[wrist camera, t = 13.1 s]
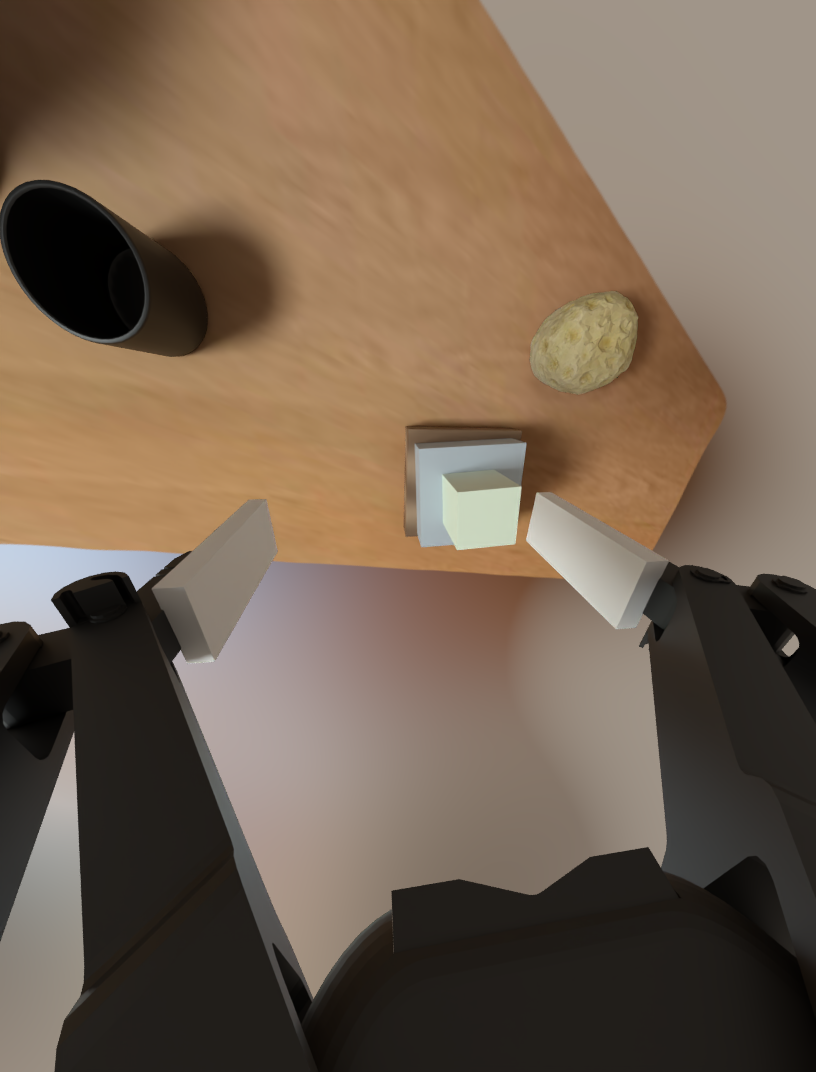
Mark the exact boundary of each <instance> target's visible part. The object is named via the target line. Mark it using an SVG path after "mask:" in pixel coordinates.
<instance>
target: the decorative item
mask: <svg viewBox="0 0 816 1072" xmlns="http://www.w3.org/2000/svg"><path fill="white" fill-rule="evenodd" d="M637 319H638V317H637V313H636V311H635V309H634V307H633V305H632V304H631V302H630V301H629V300H628V298H627V297H624V296H623V295H621V294H620V293H618V292H617V291H610V292H604V293H593V294H589V295H586V296H583V297H580V298H579V299H576V300H575V301H571V302H569V303H567V304H565V305H564V306H563V307H561V308H559V309H557V310H556V311H555V312H554V313H552V314H551V315H550V316H548V317H547V318H546V320H545V321H544V322H543V323H542V325H541V327H540V328H539V330H538V331H537V333H536V335H535V336H534V338H533V340H532V343H531V353H530V364H531V368H532V371H533V373H534V375H535V376H536V377H537V378H538V379H539V380H540V381H542V382H543V383H544V384H547V385H549V386H550V387H552V388H554V389H557V390H558V391H561V392H568V393H572V394H577V395H578V394H582V393H586V392H589V391H593V390H594V389H596V388H600V387H602V386H604V385H606V384H609V383H611V382H612V381H613V380H614V379H615V378H618V377H617V376H619V375H620V374H621V373H622V372H624V371H626V370H627V368H628V367H629V365H630V363H631V361H632V356H633V352H634V349H635V344H636V340H637V329H638V322H637Z"/></svg>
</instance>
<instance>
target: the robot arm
mask: <svg viewBox="0 0 816 1072" xmlns="http://www.w3.org/2000/svg"><path fill="white" fill-rule="evenodd" d="M526 541H527V542H528V543H529V544H530V545H531V546H532V547H533V548H534V549H535V550H536V551H537V552H538V553H539V554H540V555H541V556H542V557H543V558H544V559H545V560H546V561H547V562H548V563H549V564H550V565H551V566H552V567H553V568H554V569H555V570H556V571H557V572H558V573H559V574H560V575H561V576H563V577H564V578H565V579H566V580H567V581H568V582H569V583H570V584H571V585H572V586H573V587H574V588H575V589H576V590H577V591H578V592H579V593H580V594H581V595H582V596H583V597H584V598H585V599H586V600H587V601H588V602H589V603H590V604H591V605H592V606H593V607H594V608H595V609H596V610H597V611H598V612H599V613H600V614H601V615H602V616H603V617H604V618H605V619H606V620H607V621H608V622H609V623H610V624H611V625H612V626H613V627H614V628H615V629H626V628H636V627H637V625H638V623H639V620H640V619H641V617H642V615H643V614H644V615H646V616H647V617H648V618H649V619H651V620H652V621H651V623H650V625H649V627H648V629H647V631H646V633H645V635H644V637H643V639H642V641H641V643H640V645H639V647H642V648H643V647H644V645H645V644H648V643H649V652H650V662H651V672H652V684H653V694H654V705H655V714H656V726H657V736H658V747H659V756H660V757H659V758H660V768H661V779H662V788H663V800H664V810H665V821H666V831H667V846H666V852H665V856H664V859H663V863H662V866H661V867H660V866H659V864H658V863H657V861H656V859H655V857H654V856H653V854H652V853H651V851H650V849H649V848H648V847H647V848H640V849H635V850H629V851H623V852H617V853H611V854H606V855H599V856H593V857H589V858H588V859H587V860H585V861H584V862H583V863H581V864H580V865H579V866H577V867H576V868H574V869H573V870H572V871H570V872H569V873H567V874H566V875H565V876H563V877H562V878H561V879H559V880H558V881H556V882H555V883H553V884H552V885H551V886H549V887H548V888H547V889H545V890H544V891H542V892H541V893H539V894H537V895H527V894H522V893H518V892H513V891H509V890H504V889H500V888H496V887H491V886H487V885H482V884H478V883H473V882H469V881H465V880H460V879H458V880H452V881H446V882H440V883H435V884H429V885H423V886H417V887H411V888H405V889H399V890H393V891H392V910H390V911H388V912H387V913H385V914H384V915H382V916H381V917H379V918H378V919H376V920H375V921H374V922H373V923H372V924H371V925H369V926H368V927H367V928H366V929H365V930H364V931H363V932H361V933H360V934H359V935H358V936H357V938H356V939H355V940H354V941H353V942H352V943H351V944H350V946H349V947H348V948H347V949H346V950H345V951H344V953H343V954H342V955H341V957H340V958H339V959H338V961H337V962H336V964H335V965H334V967H333V968H332V969H331V971H330V972H329V974H328V975H327V977H326V978H325V980H324V982H323V984H322V985H321V987H320V989H319V991H318V992H317V994H316V996H315V998H314V999H313V997H312V994H311V992H310V990H309V987H308V985H307V982H306V980H305V977H304V975H303V973H302V970H301V968H300V966H299V963H298V961H297V958H296V956H295V954H294V951H293V949H292V947H291V944H290V942H289V940H288V938H287V935H286V933H285V931H284V929H283V927H282V925H281V923H280V921H279V919H278V916H277V914H276V912H275V910H274V907H273V905H272V903H271V900H270V898H269V895H268V893H267V890H266V888H265V886H264V883H263V881H262V878H261V876H260V873H259V871H258V868H257V866H256V863H255V861H254V859H253V856H252V854H251V851H250V849H249V846H248V844H247V841H246V839H245V837H244V834H243V832H242V829H241V827H240V825H239V822H238V819H237V817H236V814H235V812H234V810H233V807H232V805H231V802H230V800H229V798H228V795H227V792H226V790H225V787H224V785H223V783H222V780H221V778H220V775H219V773H218V770H217V768H216V765H215V763H214V761H213V758H212V756H211V753H210V751H209V748H208V746H207V743H206V741H205V739H204V736H203V734H202V731H201V729H200V726H199V724H198V721H197V719H196V716H195V714H194V712H193V709H192V707H191V704H190V702H189V699H188V697H187V695H186V693H185V690H184V687H183V685H182V682H181V680H180V677H179V675H178V672H177V670H176V668H175V666H174V664H173V662H172V660H173V659H174V658H175V657H176V655H177V654H178V653H179V651H180V650H181V651H182V653H183V655H184V657H185V660H186V662H187V664H190V663H203V662H215V660H216V659H217V657H218V655H219V653H220V652H221V650H222V648H223V646H224V645H225V643H226V641H227V639H228V638H229V636H230V634H231V632H232V631H233V629H234V627H235V625H236V624H237V622H238V620H239V618H240V617H241V615H242V613H243V611H244V610H245V608H246V606H247V604H248V603H249V601H250V599H251V597H252V596H253V594H254V592H255V590H256V588H257V587H258V585H259V583H260V581H261V580H262V578H263V576H264V574H265V573H266V571H267V569H268V568H269V566H270V564H271V562H272V561H273V559H274V557H275V555H276V553H277V552H278V550H277V546H276V541H275V536H274V532H273V527H272V523H271V518H270V514H269V509H268V505H267V500H266V499H255V500H248V501H247V502H246V503H245V504H244V505H242V506H241V507H240V508H239V509H238V510H237V511H236V512H235V513H234V514H233V515H232V516H230V517H229V518H228V519H227V520H226V521H225V522H224V523H223V524H222V525H221V526H219V527H218V528H217V529H216V530H215V531H214V532H213V533H212V534H211V535H210V536H209V537H207V538H206V539H205V540H204V541H203V542H202V543H201V544H200V545H199V546H198V547H197V548H195V549H194V550H193V551H188V552H186V553H185V554H183V555H181V556H179V557H177V558H175V559H174V560H172V561H171V562H170V563H169V564H168V565H167V566H165V567H164V569H163V570H161V571H160V572H159V573H157V574H156V577H153V578H152V579H151V580H149V581H148V582H147V583H146V584H145V585H144V586H143V587H141V588H140V589H139V590H138V591H137V592H136V590H135V588H134V586H133V584H132V582H131V580H130V578H129V576H128V575H127V574H125V573H123V572H107V573H101V574H97V575H93V576H89V577H86V578H83V579H81V580H78V581H75V582H73V583H71V584H69V585H67V586H65V587H63V588H62V589H61V590H59V591H58V592H57V593H55V594H54V596H53V598H52V599H51V601H52V602H53V604H54V605H55V607H56V608H57V610H58V611H59V612H60V614H61V615H62V617H63V618H64V620H65V621H66V623H67V624H68V625H69V627H70V628H67V629H63V630H59V631H54V632H50V633H45V634H41V635H37V633H36V632H35V631H34V629H33V628H32V627H31V625H29V624H27V623H26V622H10V623H5V624H0V941H1V937H2V935H3V932H4V929H5V926H6V923H7V921H8V918H9V915H10V912H11V909H12V906H13V904H14V901H15V898H16V895H17V892H18V889H19V886H20V884H21V881H22V878H23V875H24V872H25V869H26V867H27V864H28V861H29V858H30V855H31V852H32V850H33V847H34V844H35V841H36V838H37V835H38V832H39V829H40V827H41V824H42V821H43V818H44V815H45V812H46V809H47V806H48V804H49V801H50V798H51V795H52V792H53V790H54V787H55V784H56V781H57V778H58V776H59V773H60V770H61V767H62V764H63V761H64V758H65V756H66V753H67V750H68V747H69V744H70V741H71V738H72V735H73V733H75V758H76V779H77V780H76V781H77V803H78V827H79V851H80V874H81V897H82V920H83V944H84V984H83V988H82V992H81V996H80V998H79V999H78V1001H77V1002H76V1004H75V1005H74V1007H73V1008H72V1010H71V1011H70V1013H69V1014H68V1016H67V1017H66V1018H65V1020H64V1023H63V1027H62V1030H61V1034H60V1038H59V1041H58V1045H57V1049H56V1061H55V1072H816V589H814V588H812V587H811V586H809V585H806V584H804V583H802V582H801V581H799V580H797V579H794V578H790V577H787V576H777V575H772V574H760V575H758V576H757V577H756V579H755V581H754V582H753V583H752V585H751V586H750V587H748V586H739V585H736V584H735V583H734V582H733V581H732V580H731V579H729V578H728V577H727V576H724V575H722V574H720V573H718V572H716V571H714V570H711V569H708V568H703V567H699V566H693V565H684V566H681V567H677V566H676V565H674V564H672V563H671V562H669V560H667V559H665V558H664V557H662V556H660V555H658V554H656V553H655V552H653V551H652V550H650V549H648V548H646V547H645V546H643V545H641V544H640V543H638V542H636V541H634V540H633V539H631V538H629V537H627V536H626V535H624V534H622V533H621V532H619V531H617V530H615V529H614V528H612V527H610V526H608V525H607V524H605V523H603V522H602V521H600V520H598V519H596V518H595V517H593V516H591V515H590V514H588V513H586V512H584V511H583V510H581V509H579V508H577V507H576V506H574V505H572V504H571V503H569V502H567V501H565V500H564V499H562V498H560V497H558V496H557V495H555V494H553V493H552V492H537V493H536V498H535V502H534V507H533V511H532V516H531V520H530V525H529V529H528V534H527V538H526ZM794 634H795V635H796V636H797V638H798V640H799V648H798V649H797V650H796V651H795V652H794V654H792V655H791V656H790V657H788V656H787V655H786V654H785V653H784V652H783V651H782V648H783V647H784V646H785V645H786V644H787V643H788V641H789V640H790V639H791V638H792V636H793V635H794ZM392 917H393V927H392ZM393 943H394V952H393Z"/></svg>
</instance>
